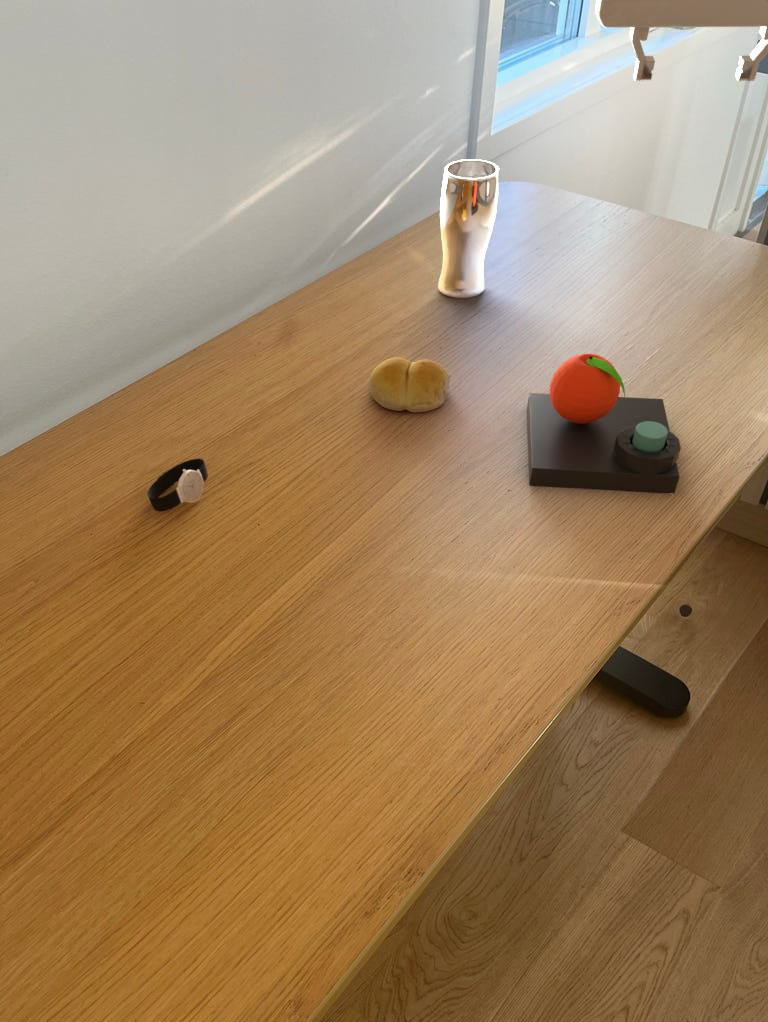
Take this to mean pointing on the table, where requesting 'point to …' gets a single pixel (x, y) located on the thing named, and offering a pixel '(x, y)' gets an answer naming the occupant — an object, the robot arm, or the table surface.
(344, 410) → the table surface
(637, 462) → the black push button box
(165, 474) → the watch
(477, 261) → the beer glass
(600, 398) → the clementine
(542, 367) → the table surface
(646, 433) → the button
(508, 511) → the table surface
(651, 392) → the table surface
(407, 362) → the bread roll
